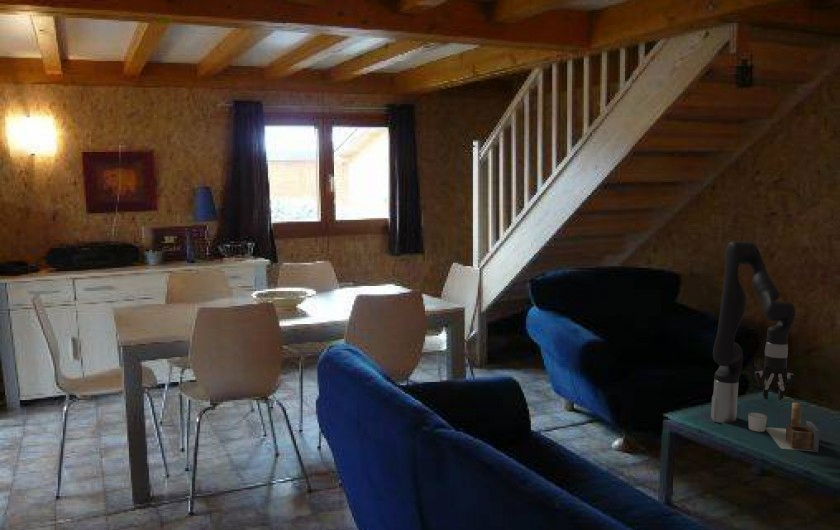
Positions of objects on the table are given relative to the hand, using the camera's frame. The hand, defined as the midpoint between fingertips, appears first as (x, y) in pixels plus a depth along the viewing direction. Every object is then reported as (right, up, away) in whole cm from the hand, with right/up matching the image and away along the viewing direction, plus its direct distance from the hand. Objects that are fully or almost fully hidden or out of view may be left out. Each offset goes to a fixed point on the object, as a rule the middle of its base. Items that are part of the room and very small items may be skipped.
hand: (772, 399), depth 257 cm
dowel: (+15, -16, +12) cm, 25 cm away
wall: (+14, -17, -1) cm, 22 cm away
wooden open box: (+10, -17, 0) cm, 20 cm away
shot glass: (+2, -17, +17) cm, 24 cm away
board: (+10, -18, +7) cm, 21 cm away
